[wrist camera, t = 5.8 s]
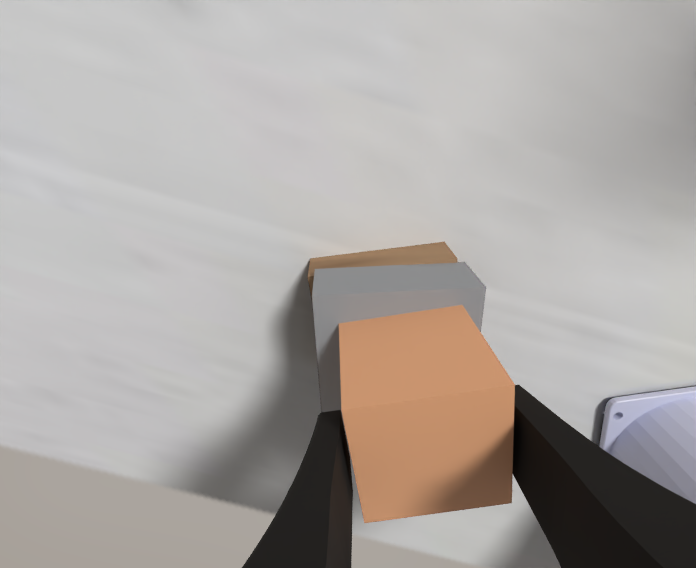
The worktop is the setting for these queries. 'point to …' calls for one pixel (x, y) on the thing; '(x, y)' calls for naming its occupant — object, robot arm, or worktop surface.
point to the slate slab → (382, 305)
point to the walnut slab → (385, 258)
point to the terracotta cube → (425, 414)
